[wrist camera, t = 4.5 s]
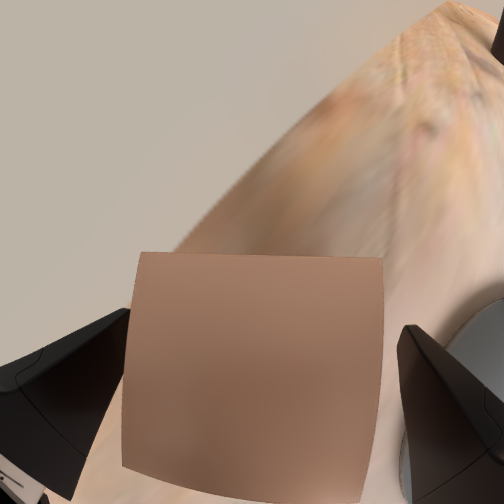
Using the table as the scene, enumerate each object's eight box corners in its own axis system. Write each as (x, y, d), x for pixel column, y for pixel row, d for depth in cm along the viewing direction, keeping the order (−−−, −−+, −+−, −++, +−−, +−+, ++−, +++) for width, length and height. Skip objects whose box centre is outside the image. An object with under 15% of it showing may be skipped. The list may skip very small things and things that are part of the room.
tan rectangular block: (327, 421, 12) (359, 502, 4) (214, 411, 14) (122, 465, 5) (335, 310, 14) (381, 258, 6) (223, 305, 16) (140, 251, 7)
